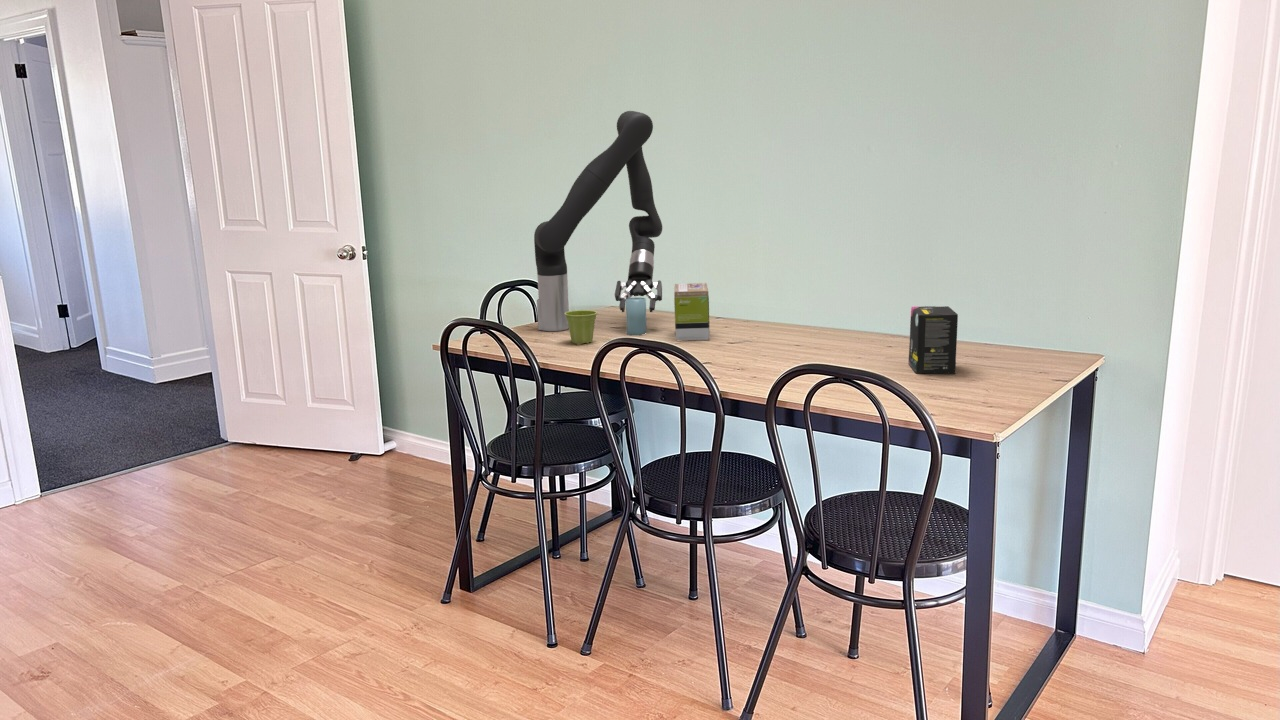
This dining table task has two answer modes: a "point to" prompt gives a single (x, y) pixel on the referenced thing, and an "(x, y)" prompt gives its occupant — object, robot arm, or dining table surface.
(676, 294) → the tea box
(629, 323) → the light blue rounded cylinder
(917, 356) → the tampon box
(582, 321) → the plant pot
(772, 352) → the dining table surface
